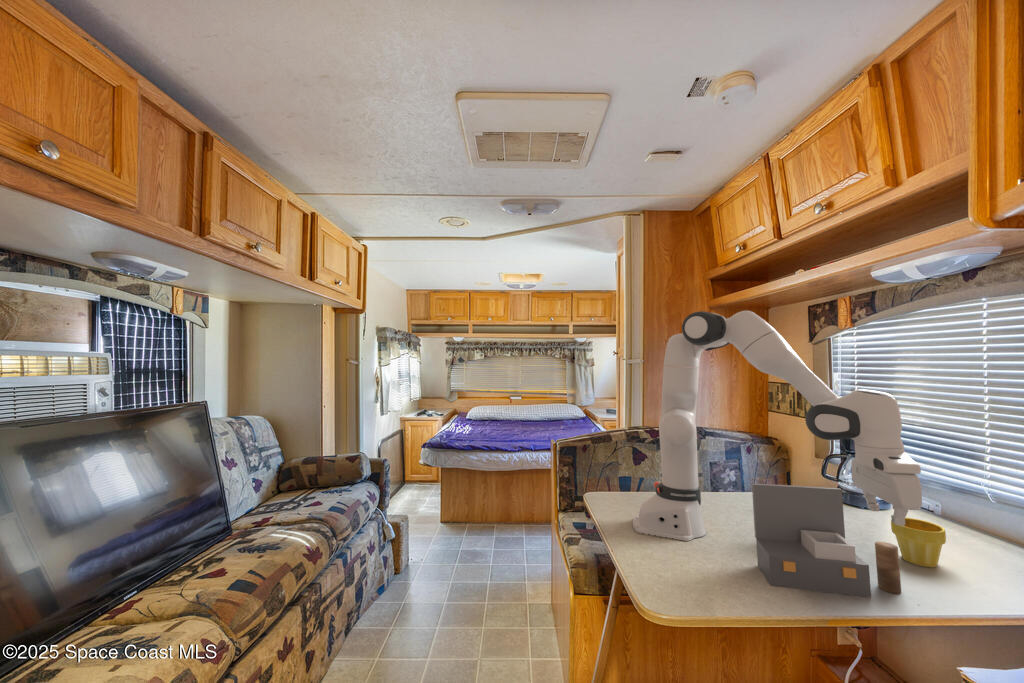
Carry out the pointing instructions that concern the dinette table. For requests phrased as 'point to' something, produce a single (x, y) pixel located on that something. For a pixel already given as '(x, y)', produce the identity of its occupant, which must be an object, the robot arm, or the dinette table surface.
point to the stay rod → (888, 567)
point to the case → (806, 540)
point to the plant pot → (920, 541)
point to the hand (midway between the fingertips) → (885, 517)
